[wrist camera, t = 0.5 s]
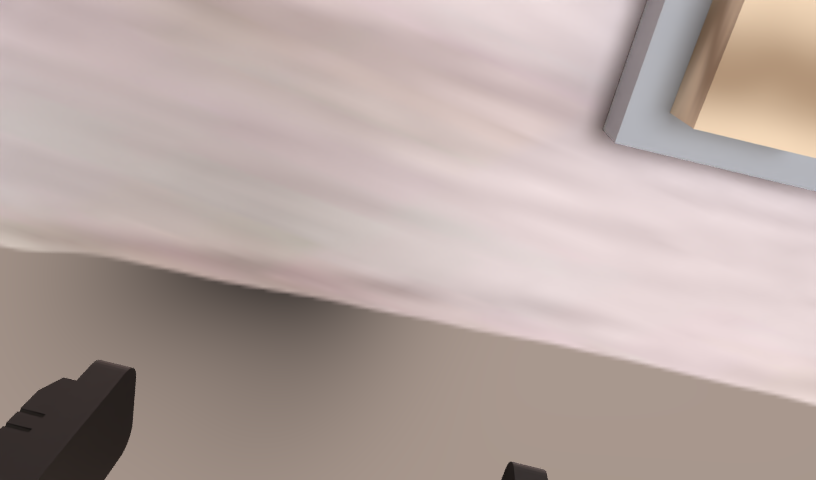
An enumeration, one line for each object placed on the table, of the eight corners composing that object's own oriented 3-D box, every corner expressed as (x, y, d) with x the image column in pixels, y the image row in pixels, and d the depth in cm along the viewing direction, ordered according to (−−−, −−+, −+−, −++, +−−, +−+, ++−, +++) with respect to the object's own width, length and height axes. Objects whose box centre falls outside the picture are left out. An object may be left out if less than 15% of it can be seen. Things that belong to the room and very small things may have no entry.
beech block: (720, -20, 29) (752, -20, 26) (851, 12, 29) (900, 16, 26) (669, 112, 31) (693, 128, 28) (791, 142, 31) (829, 161, 28)
